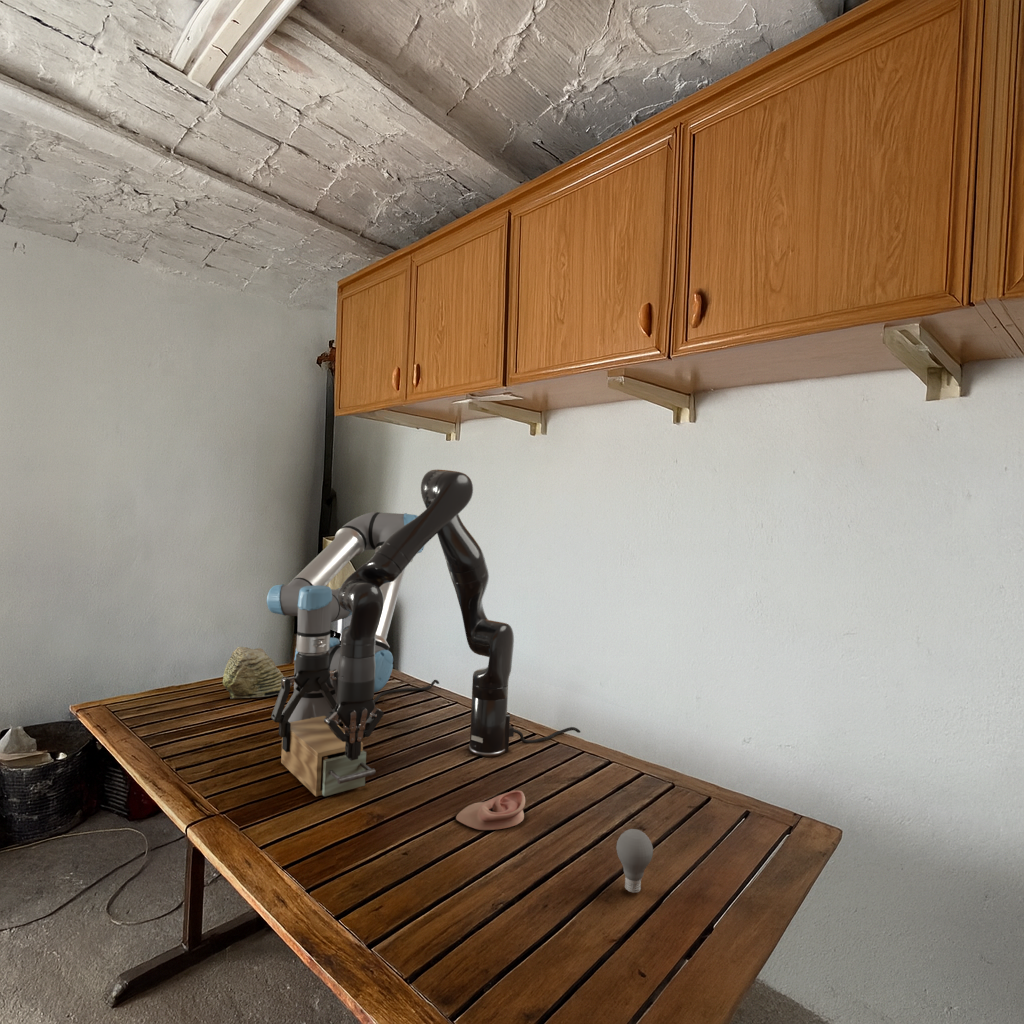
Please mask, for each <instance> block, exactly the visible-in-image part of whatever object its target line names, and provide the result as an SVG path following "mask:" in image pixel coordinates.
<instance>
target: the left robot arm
mask: <svg viewBox="0 0 1024 1024" xmlns="http://www.w3.org/2000/svg"><path fill="white" fill-rule="evenodd" d="M418 516H419V515H417V514H413V513H407V512H404V513H396V512H395V513H394V512H378V511H372V512H366V513H364V514H361V515H358V516H356V517H354V518H353V519H352V520H350V521H348V522H346V523H345V524H343V526H342V527H340V528H339V529H338V530H337V531H336V533H335V535H334V539H333V540H331V542H329V544H328V545H326V547H325V548H323V550H321V552H320V553H318V555H316V557H314V558H313V559H312V560H311V561H310V562H309V563H308V564H307V565H306V566H305V567H304V568H303V569H302V570H301V571H300V572H299V573H298V574H297V575H295V576H294V578H293V579H291V581H290V582H289V583H287V584H276V585H273V586H272V587H271V588H270V589H269V590H268V593H267V596H266V604H267V608H268V610H269V612H271V613H273V614H276V615H281V616H284V617H285V616H291V617H297V631H296V632H297V633H296V646H295V652H294V653H295V654H294V659H293V660H294V672H293V676H290V677H289V676H288V677H286V676H284V677H282V679H281V689H280V692H279V694H277V698H276V701H275V704H274V707H273V708H272V709H273V710H272V713H271V716H270V719H271V720H272V721H273V722H274V723H276V724H278V736H279V737H281V750H282V749H283V750H284V751H286V752H290V728H291V723H290V722H294V721H299V720H305V719H310V718H315V717H320V716H326V717H330V716H331V715H332V714H333V713H334V712H335V707H336V705H337V688H338V667H339V661H340V651H341V641H340V639H339V638H337V637H331V624H332V623H333V622H336V621H340V620H345V619H347V618H348V617H351V616H352V612H349V611H346V610H344V609H343V608H342V607H341V606H340V605H339V602H338V592H339V589H340V587H338V588H336V589H332V588H331V587H330V586H329V585H328V584H330V583H331V581H332V580H334V578H335V577H336V576H337V575H338V574H339V573H340V571H342V570H343V568H344V567H346V565H347V564H348V563H349V562H350V561H351V560H352V559H353V558H354V557H358V556H360V555H361V554H362V553H363V552H364V551H371V550H373V551H374V554H375V553H376V552H377V551H378V549H379V548H380V547H381V546H382V545H383V543H384V542H385V541H386V540H387V539H388V538H389V537H390V536H391V535H392V534H393V533H395V532H396V531H397V530H399V529H400V528H401V527H403V526H404V525H406V524H408V523H409V522H411V521H412V520H414V519H415V518H416V517H418ZM424 548H425V545H424V546H423V548H422V549H421V550H420V551H419V552H418V553H417V554H416V555H418V554H420V553H423V551H424ZM413 560H414V558H413V559H412V560H411V562H410V563H412V562H413ZM405 571H406V568H405V569H404V570H403V572H402V573H401V574H400V575H399V577H398V578H397V579H396V580H395V581H393V582H389V583H385V584H383V585H382V586H381V587H380V589H381V591H382V593H383V599H384V605H383V611H382V615H381V619H380V622H379V626H378V629H377V632H376V636H375V639H376V641H375V664H376V666H375V688H374V694H376V693H378V692H379V693H378V694H377V696H376V697H375V698H373V701H374V703H375V704H376V703H377V702H379V699H380V698H381V697H382V696H385V695H389V694H394V693H401V692H419V691H420V692H421V691H426V690H429V689H431V688H433V686H434V685H435V683H436V684H437V685H439V684H440V681H439V680H438V679H433V680H432V682H431V683H430V684H429V685H431V686H429V685H427V686H423V687H404V688H395V689H389V690H385V691H382V692H380V691H381V690H382V689H383V688H384V687H385V686H386V685H387V684H388V682H389V680H390V677H391V675H392V672H393V668H394V664H393V662H394V656H393V653H392V652H391V651H390V648H391V647H390V645H389V643H388V641H387V638H388V634H389V630H390V627H391V623H392V619H393V616H394V612H395V608H396V604H397V600H398V596H399V593H400V589H401V586H402V583H403V579H404V575H405ZM327 585H328V586H327ZM292 687H293V693H292V694H291V697H290V698H289V700H288V697H289V694H290V691H291V688H292ZM287 700H288V702H287ZM338 721H339V724H338V725H339V726H340V725H342V724H343V723H342V721H341V720H340V719H339V717H338ZM282 737H283V739H282Z"/></svg>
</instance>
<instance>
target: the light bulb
mask: <svg viewBox="0 0 1024 1024" xmlns="http://www.w3.org/2000/svg"><path fill="white" fill-rule="evenodd" d="M615 849H616V854H617V857H618V859H619V861H620V863H621V865H622V867H623V873H624V874H623V875H624V876H625V878H624V888H625V890H627V891H628V892H630V893H634V894H635V893H639V892H640V891H641V889H642V887H641V886H642V879H643V877H644V875H645V871H646V868H647V867H648V866H649V864H650V863H651V861H652V859H653V855H654V847H653V843H652V841H651V838H649V836H648V835H647V834H646V833H645V832H643V831H642V830H641V829H636V828H629V829H627V830H625V831H623V832H622V833H621V834H620V835H619V837H618V839H617V841H616V847H615Z"/></svg>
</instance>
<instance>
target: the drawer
mask: <svg viewBox="0 0 1024 1024" xmlns="http://www.w3.org/2000/svg"><path fill="white" fill-rule="evenodd" d="M374 775H376V769H375V768H371V767H370V766H369V765H367V751H365V750H363V751H361V753H360V756H358V759H356V760H352V761H351V760H349V759H348V758H347V757H346V755H345V751H344V752H340V753H336V754H331V755H327V756H323V757H322V767H321V787H322V788H323V789H322V795H321V796H323V797H325V798H326V797H329V796H332V795H335V794H340V793H343V792H346V791H351V790H353V789H357V788H360V787H361V788H362V787H364V786H366V778H367V777H371V776H374Z"/></svg>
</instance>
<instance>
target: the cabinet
mask: <svg viewBox="0 0 1024 1024" xmlns="http://www.w3.org/2000/svg"><path fill="white" fill-rule="evenodd" d="M325 718H326V716H320V717H315V718H310V719H305V720H299V721H294V722H290V723H291V728H290V752H286V751H284V750H283V749H282V748H281V753H280V755H281V758H280V763H281V765H283V766H284V767H285V769H286V770H288V771H289V772H290V773H291V774H292V775H293V776H294V777H295V778H296V779H297V780H298V781H299V782H300V783H301V784H302V785H303V786H304V787H305V788H306V789H308V791H309V792H310V793H311V794H312V795H313V796H315V797H317V798H318V797H320V796H323V795H322V789H323V788H322V787H321V767H322V757H323V756H327V755H331V754H336V753H340V752H344V751H345V743H346V742H342V741H341V740H340V739H338V738H337V737H336V735H335V734H334V733H333V732H332V731H331V729H330V728H329V727H328V726H327V724H326V723H325V722H324V719H325ZM338 727H339V728H340V729H341V730H342V731H343V733H344V734H345V730H344V727H343V728H342V727H341V726H340V725H338ZM282 739H283V737H281V740H282ZM361 751H364V742H363V741H361Z"/></svg>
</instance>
